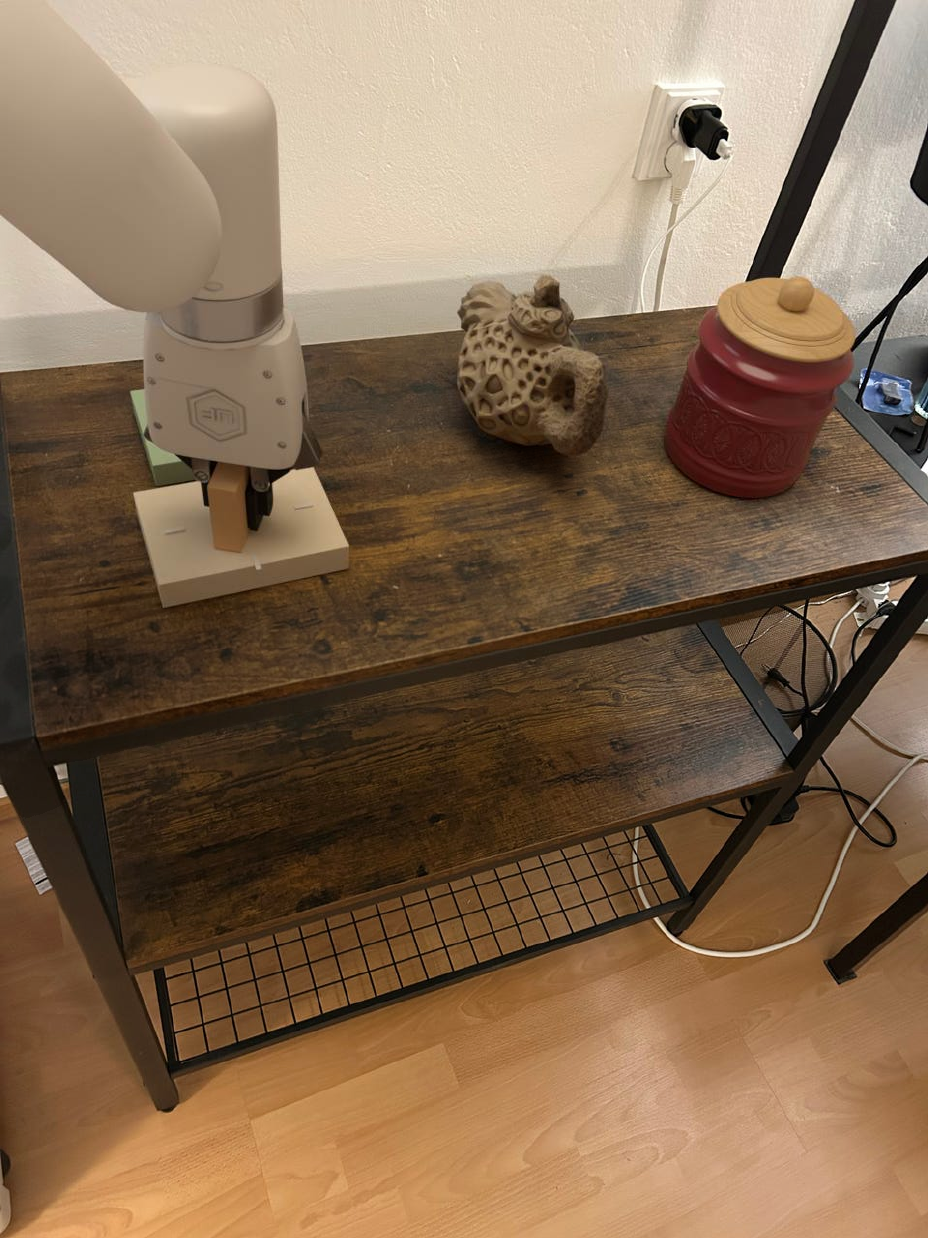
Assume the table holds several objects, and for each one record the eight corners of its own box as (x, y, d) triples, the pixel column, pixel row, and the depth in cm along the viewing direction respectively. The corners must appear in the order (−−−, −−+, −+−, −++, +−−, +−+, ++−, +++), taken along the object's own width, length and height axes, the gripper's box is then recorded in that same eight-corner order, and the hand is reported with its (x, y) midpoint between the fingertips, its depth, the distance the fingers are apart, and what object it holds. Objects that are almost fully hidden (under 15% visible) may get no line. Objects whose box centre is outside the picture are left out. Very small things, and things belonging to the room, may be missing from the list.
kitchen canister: (635, 424, 90) (689, 247, 77) (745, 399, 95) (814, 228, 82) (713, 515, 83) (788, 337, 70) (829, 484, 88) (919, 312, 75)
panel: (164, 614, 70) (160, 589, 68) (136, 510, 76) (131, 485, 74) (351, 574, 74) (352, 549, 72) (309, 479, 81) (309, 455, 79)
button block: (156, 486, 78) (149, 447, 75) (133, 411, 84) (126, 372, 81) (301, 461, 82) (300, 423, 79) (270, 391, 88) (268, 353, 85)
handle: (241, 552, 71) (235, 488, 66) (214, 548, 71) (206, 484, 66) (264, 490, 76) (260, 426, 71) (239, 485, 76) (233, 421, 71)
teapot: (411, 376, 92) (424, 224, 80) (517, 354, 96) (543, 206, 85) (521, 524, 80) (554, 370, 69) (635, 491, 84) (684, 342, 73)
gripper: (67, 306, 57) (117, 532, 70) (337, 350, 57) (334, 567, 71) (112, 243, 61) (151, 466, 75) (360, 283, 62) (353, 498, 75)
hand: (239, 513), depth 73 cm, fingers closed on handle, 2 cm apart
